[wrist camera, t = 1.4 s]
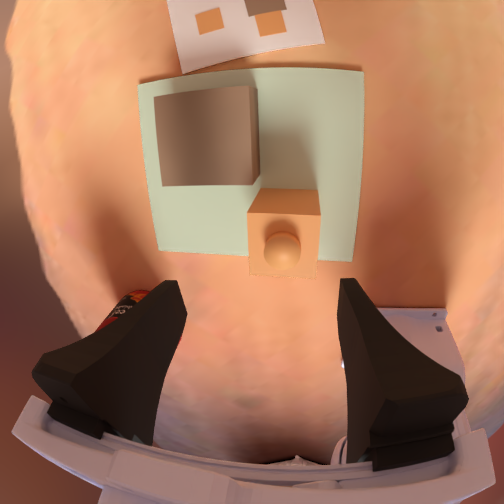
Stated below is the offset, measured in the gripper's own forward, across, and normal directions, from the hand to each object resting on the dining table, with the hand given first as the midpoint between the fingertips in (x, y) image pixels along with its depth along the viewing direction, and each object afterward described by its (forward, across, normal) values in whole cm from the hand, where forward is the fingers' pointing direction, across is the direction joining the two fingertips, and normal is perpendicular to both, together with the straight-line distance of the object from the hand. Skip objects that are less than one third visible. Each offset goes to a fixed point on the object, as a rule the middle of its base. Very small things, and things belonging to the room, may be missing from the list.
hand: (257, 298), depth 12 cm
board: (+10, +2, -3) cm, 11 cm away
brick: (+10, -1, 0) cm, 10 cm away
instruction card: (+11, +1, -15) cm, 18 cm away
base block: (+10, +4, -6) cm, 12 cm away
